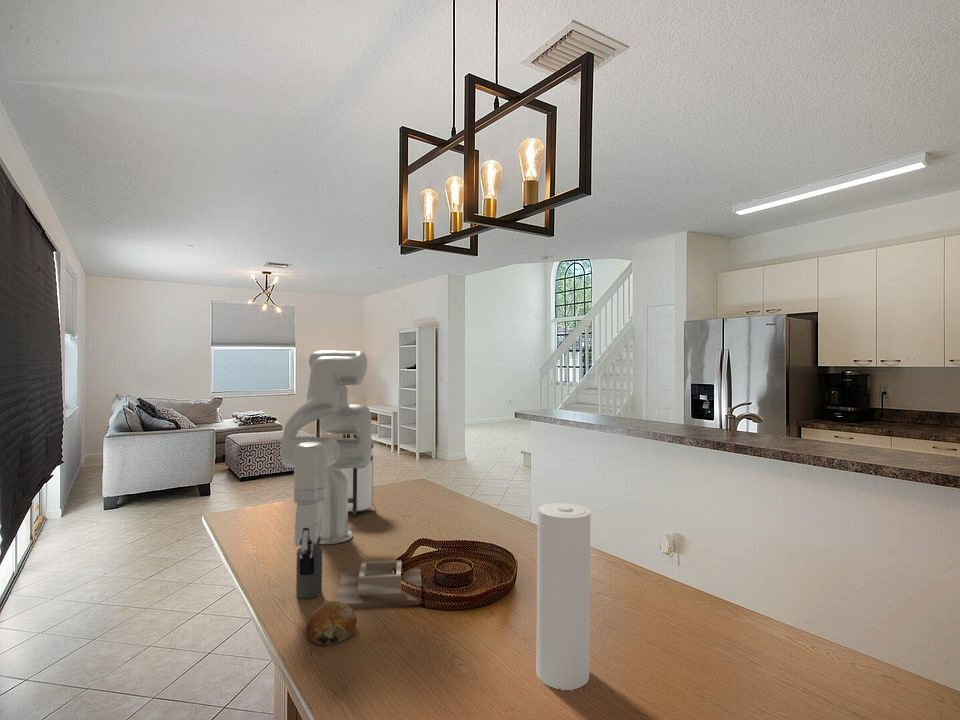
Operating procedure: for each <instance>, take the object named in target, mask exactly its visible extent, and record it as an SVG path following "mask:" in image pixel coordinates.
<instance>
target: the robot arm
mask: <svg viewBox="0 0 960 720" xmlns="http://www.w3.org/2000/svg"><path fill="white" fill-rule="evenodd" d="M308 363H309V364H308V365H309V368H310V374H309V380H308V388H307V393H306V401H305V403H304V404H302V405H301V406H299V407H298V408H297V409H296V410H295V411H294V412H293V413H292V415H290V417H289V418H288V420H287V422H285V425H284V429H283V434H282V437H281V439H282V440H281V444H280V452H279V455H280V460H281V463H282V464H283V466H286V467H288V468H293V502H294V503H295V504H296V510H295V521H294V541H293V544H294V546H295V547H298V546H300V547H301V550H300V575H313V574H314V557H313V547H314V545H315V544H316V542H317V540H318V538H319V537H320V538H321V542H320V543H319V544H318V545H320V544H321V545H336V544H341V543H344V542H347V541H349V540H351V539H352V538H353V532H352V530H350V529H348V526H349V525H348V523H349V522H348V520H349V516H348V514H349V511H348V481H347V478H346V477H345V475H344V474H343V473H342V471H341V470H340V469H344V468H364V467H367V466H368V465H369V463H370V460H371V442H372V414H371V410H370V408H369V407H368V406H367V405H366V404H357V403H356V404H355V403H354V404H353V403H352V404H351V403H349V402H348V395H349V394H348V387H347V386H359V385H361V384H362V382H363V380H364V378H365V376H366V373H367V370H368V358H367V355H366V354H365V353H364V352H363V351H360V350H333V349H332V350H331V349H330V350H328V349H327V350H318V351H317V350H316V351H314V352H312V353H311V354H309V357H308ZM317 420H319V427H320V430H321V431H322V433H325V434H327V435H353V434H355V435H356V436H357V438H355V437H351V438H350V437H348V438H347V437H345V438H344V437H337V438H336V437H329V436H327V437H326V436H321V437H320V436H318V437H316V436H306V437H305V436H300V437H299V436H297V435H298V433H299V431H300V430H301V429H302V428H304V427H305V426H306V425H308V424H310V423H312V422H315V421H317ZM319 531H320V533H319ZM309 541H312V542H311V544H308V542H309ZM300 542H301V545H299V544H300ZM308 547H310V550H309V549H308Z"/></svg>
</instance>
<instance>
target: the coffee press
mask: <svg viewBox="0 0 960 720" xmlns="http://www.w3.org/2000/svg"><path fill="white" fill-rule="evenodd" d="M352 435H353V438H357V436H356V435H355V434H352ZM374 447H375V446H374V443H373V442H372V441H371V460H370V463H369V465H368V466H367V467H364V468H344V469H340V470H341V471H342V473H343V474H344V475H345V477H346V478H347V481H348V512H352V518H356V517H357V515H358V514H357V512H362V511H367V510H368V509H369V510H370V511H372V512H375V511H376V506H375V505H374V502H373V497H374V495H373V489H374V488H373V487H374V485H373V484H374V482H373V481H374V479H373V477H374V464H373V461H374V454H373V451H374V450H373V449H374ZM372 506H373V508H374V509H372ZM373 510H374V511H373Z"/></svg>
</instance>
